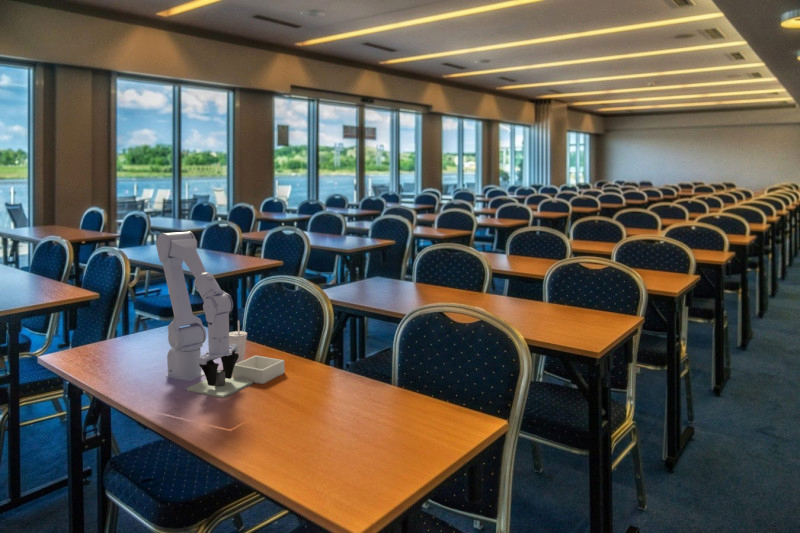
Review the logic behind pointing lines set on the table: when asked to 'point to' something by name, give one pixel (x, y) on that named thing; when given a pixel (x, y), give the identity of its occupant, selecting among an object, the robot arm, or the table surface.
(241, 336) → the smoothie
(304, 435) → the table surface
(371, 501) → the table surface
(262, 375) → the dish
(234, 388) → the lid
